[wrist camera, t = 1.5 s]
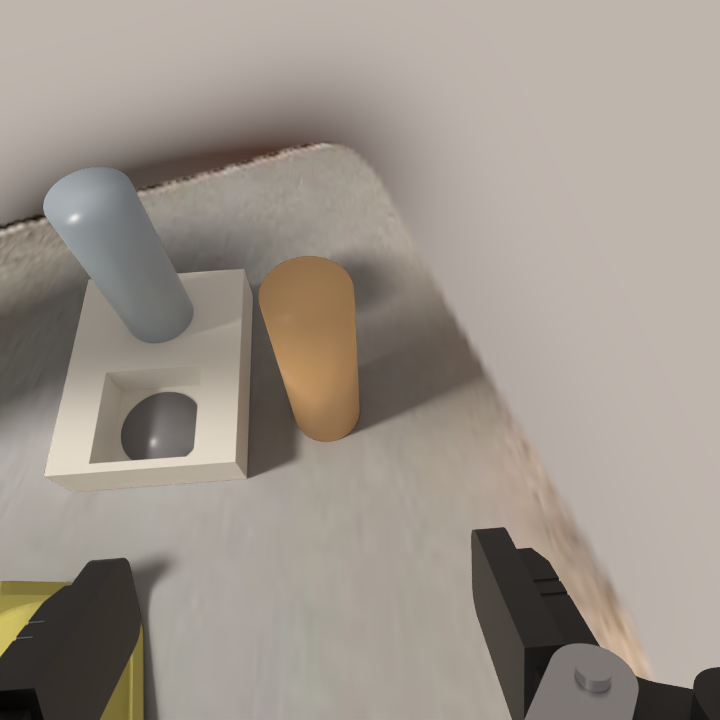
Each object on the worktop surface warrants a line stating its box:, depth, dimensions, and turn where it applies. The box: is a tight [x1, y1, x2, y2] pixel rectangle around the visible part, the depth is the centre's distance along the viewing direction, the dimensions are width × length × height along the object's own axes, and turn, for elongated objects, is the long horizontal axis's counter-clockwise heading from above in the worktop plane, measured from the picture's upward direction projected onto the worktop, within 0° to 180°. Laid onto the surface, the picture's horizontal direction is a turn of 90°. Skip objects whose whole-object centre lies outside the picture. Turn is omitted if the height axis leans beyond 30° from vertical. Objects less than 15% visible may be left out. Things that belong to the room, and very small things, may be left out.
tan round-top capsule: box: [258, 256, 360, 442], centre depth 27 cm, size 4×4×12 cm
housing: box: [43, 167, 253, 492], centre depth 28 cm, size 13×10×13 cm
